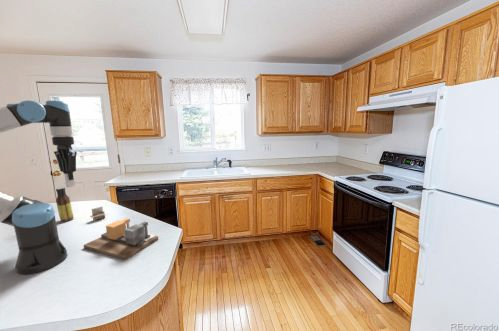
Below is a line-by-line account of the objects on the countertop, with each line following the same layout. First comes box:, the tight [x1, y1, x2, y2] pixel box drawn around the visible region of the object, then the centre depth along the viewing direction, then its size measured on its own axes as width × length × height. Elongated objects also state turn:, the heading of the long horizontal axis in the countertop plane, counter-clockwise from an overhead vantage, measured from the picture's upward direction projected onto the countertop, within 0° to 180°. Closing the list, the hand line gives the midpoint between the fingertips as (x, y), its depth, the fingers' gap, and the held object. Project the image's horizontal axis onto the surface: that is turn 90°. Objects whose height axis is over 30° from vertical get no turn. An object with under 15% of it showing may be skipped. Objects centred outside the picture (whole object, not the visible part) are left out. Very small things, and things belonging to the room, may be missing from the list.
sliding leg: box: [105, 217, 131, 240], centre depth 104 cm, size 10×5×6 cm, turn 158°
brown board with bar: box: [83, 221, 159, 261], centre depth 102 cm, size 18×26×9 cm
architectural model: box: [89, 206, 106, 221], centre depth 131 cm, size 3×7×7 cm, turn 140°
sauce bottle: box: [55, 186, 74, 223], centre depth 130 cm, size 6×6×20 cm
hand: (70, 186), depth 104 cm, fingers closed
